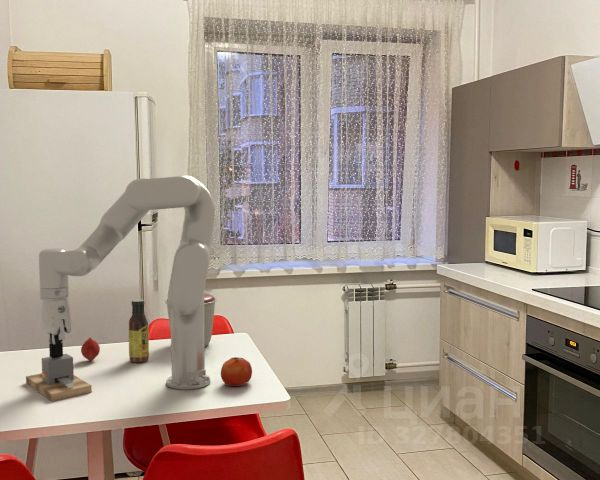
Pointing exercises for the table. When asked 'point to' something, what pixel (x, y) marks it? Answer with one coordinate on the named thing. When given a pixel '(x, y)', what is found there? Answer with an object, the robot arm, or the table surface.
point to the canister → (208, 316)
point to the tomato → (236, 371)
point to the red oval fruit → (90, 349)
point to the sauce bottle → (138, 333)
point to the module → (57, 368)
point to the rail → (64, 382)
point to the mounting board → (58, 388)
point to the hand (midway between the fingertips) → (56, 356)
